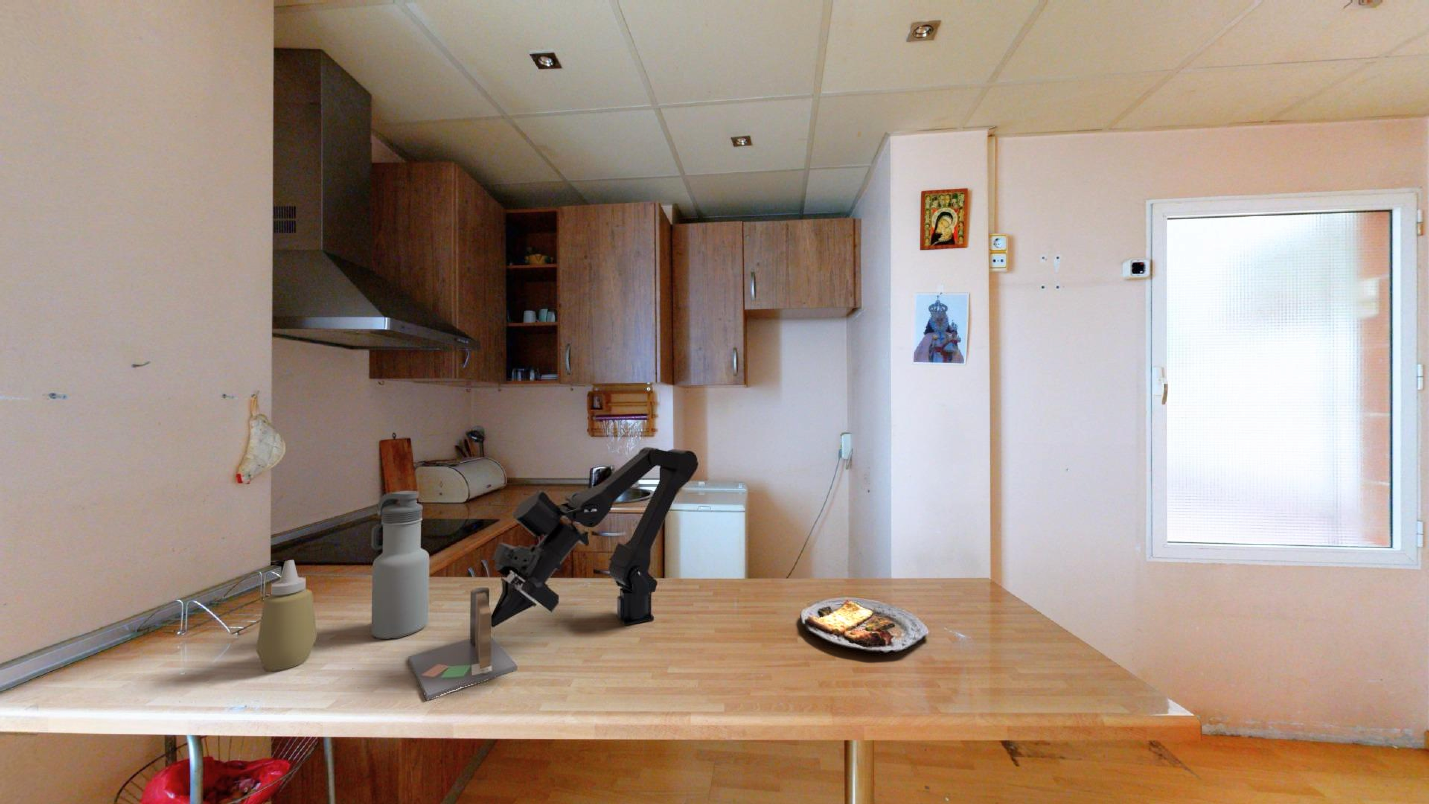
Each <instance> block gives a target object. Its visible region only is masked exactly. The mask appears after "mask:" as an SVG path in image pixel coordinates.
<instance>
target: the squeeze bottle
mask: <svg viewBox="0 0 1429 804" xmlns="http://www.w3.org/2000/svg"><path fill="white" fill-rule="evenodd" d="M279 577H280V578H279V580H277V581H275V582H273V583H271V586H270V595H269V596H267V597H266V598H265V599H264V600H263V604H262V611H261V616H260V617H261V618H260V623H259V630H258V636H257V642H256V648H255V649H256V650H255V651H256V654H257V656H258V659H259V661H260V662H261V664H262V667H263V668H264V670H266V671H271V672H274V671H275V672H276V671H282V670H288V669H290V668H293V667H295V666H299V665H301V664H303V663H304V662H306V661H307V660H308V659H309V657H310V655H311V653H312V650H313V647H314V644H315V642H316V640H317V637H318V636H317V635H318V634H317V633H318V632H317V626H316V617H315V608H314V606H315V605H314V597H313V591H312V590H310V589H308V588H307V587H306V586H307V585H306V584H307V583H306V582H307V579H306V577H302V576H301V577H299V574H298V572H297V568H296V564H295V560H294V559H289V560H285V561H284V564H283V567H282V571H281V575H280V576H279Z"/></svg>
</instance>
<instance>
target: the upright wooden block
mask: <svg viewBox="0 0 1429 804" xmlns="http://www.w3.org/2000/svg"><path fill="white" fill-rule="evenodd" d="M469 600H470V601H469V602H470V604H469V605H470V607H469V608H470V611H469V612H470V613H469V615H470V617H469V639H470V644H473V645H476V649H477V654H478V660H479V665H480V669H481V668H483V672H484V673H487V672H488V667H490V666H491V637H492V627H491V615H492V610H491V606H490V588H489V587H477V588H474V589H472V590H470V599H469Z"/></svg>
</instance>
